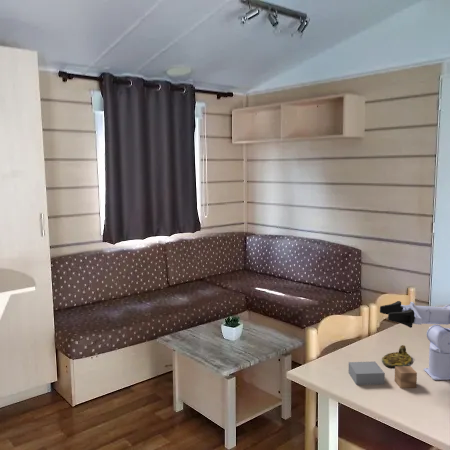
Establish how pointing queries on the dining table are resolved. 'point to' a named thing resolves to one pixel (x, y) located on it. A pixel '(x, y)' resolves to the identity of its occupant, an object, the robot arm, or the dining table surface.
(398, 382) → the walnut cube
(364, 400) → the dining table surface
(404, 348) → the seal
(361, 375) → the grey block
